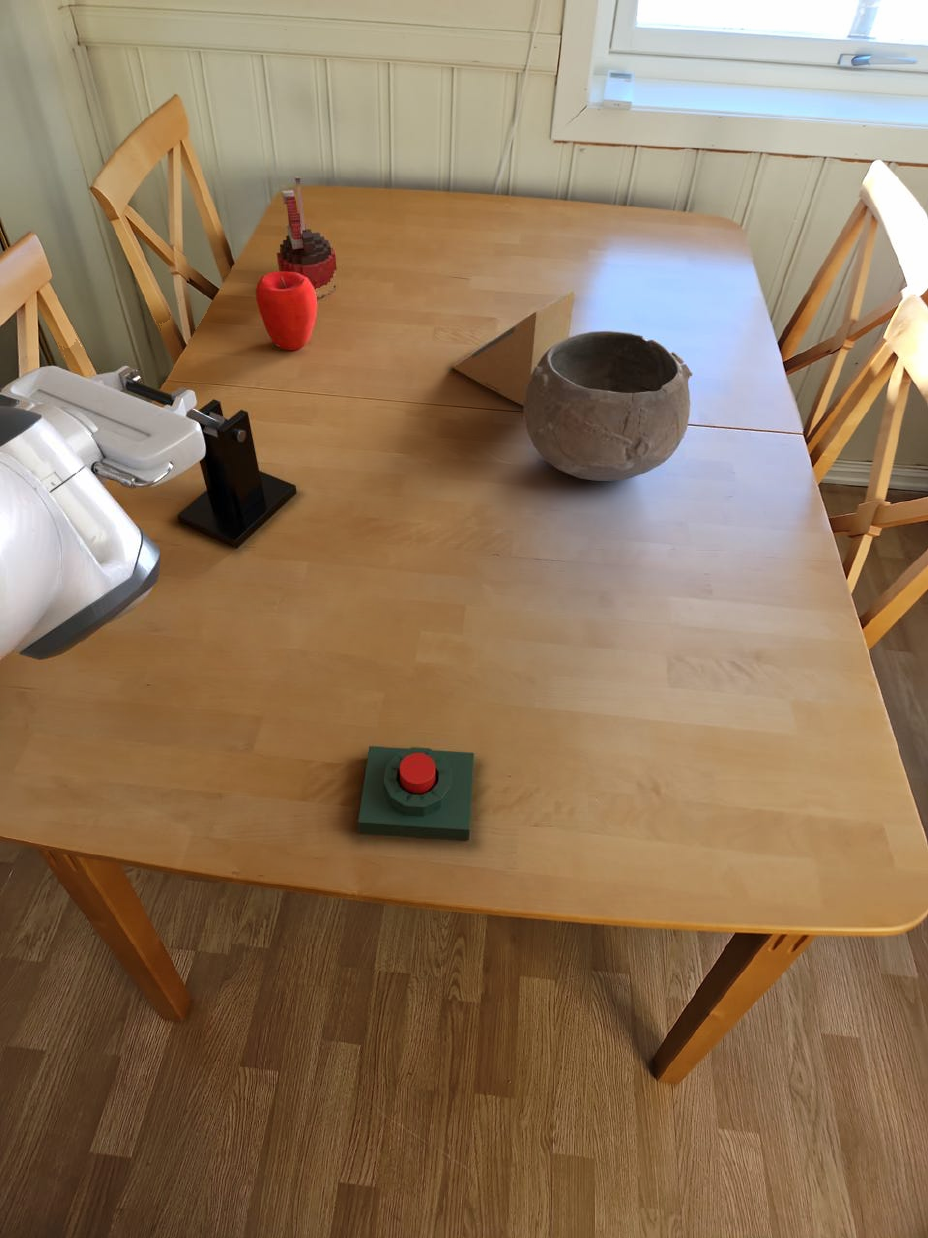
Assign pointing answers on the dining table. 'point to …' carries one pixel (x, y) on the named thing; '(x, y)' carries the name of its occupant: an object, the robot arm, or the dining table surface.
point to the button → (417, 773)
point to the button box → (417, 796)
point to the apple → (287, 308)
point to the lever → (166, 399)
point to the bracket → (233, 484)
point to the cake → (305, 246)
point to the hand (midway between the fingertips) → (161, 383)
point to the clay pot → (607, 405)
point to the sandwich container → (519, 350)
